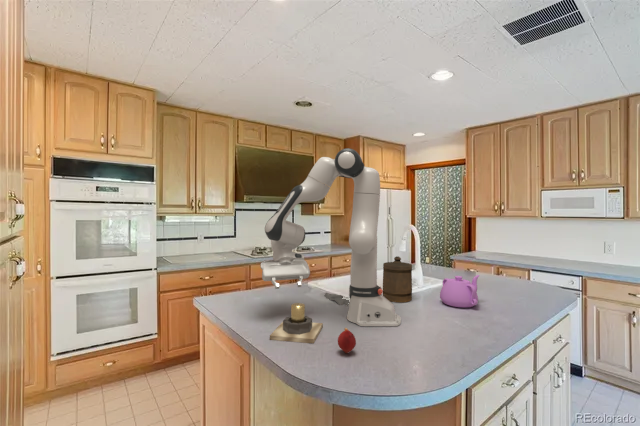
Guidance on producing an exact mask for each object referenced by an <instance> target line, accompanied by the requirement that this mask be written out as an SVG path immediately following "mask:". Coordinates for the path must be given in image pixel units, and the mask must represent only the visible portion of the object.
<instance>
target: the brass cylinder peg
mask: <svg viewBox="0 0 640 426" xmlns="http://www.w3.org/2000/svg"><path fill="white" fill-rule="evenodd" d="M290 307H291V309H290V311H291V313H290V314H291V315H290V316H291V323H302V322H305V316H306V314H305V313H306V310H305V307H306V304H305V303H303V302H302V303H300V302H295V303H291V306H290Z"/></svg>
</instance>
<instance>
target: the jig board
mask: <svg viewBox="0 0 640 426" xmlns="http://www.w3.org/2000/svg"><path fill="white" fill-rule="evenodd" d="M323 328H324V322H313V319H312V318H311V317H309V316H307V315H305V322H302V323H291V315H290V316H286V317H285V318H284V319H283V320H282V322H281V323H280V324H279V325H278V326H277V327H276V328H275V329H274V330H273V332H271V333H270V335H269V341H270V340H271V341H280V342H282V341H283V342H291V343H292V342H294V343H303V344H315V342H316V340H317V339H318V337H319V335H320V334H321V332H322V329H323Z"/></svg>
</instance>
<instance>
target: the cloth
mask: <svg viewBox="0 0 640 426" xmlns="http://www.w3.org/2000/svg"><path fill="white" fill-rule="evenodd" d="M323 296H324V297H325V299H327V298H328V299H329V300H328V299H327V300H328V301H334V302H336V303H337V304H338V305H339V306H343V305H344V306H346V305H347V306H346V307H349V304H350V302H349V300H346V299H342V298H343V296H344V295H341V294H335V293H328V292H325V293H324V295H323ZM348 303H349V304H348Z"/></svg>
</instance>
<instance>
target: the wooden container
mask: <svg viewBox="0 0 640 426" xmlns="http://www.w3.org/2000/svg"><path fill="white" fill-rule="evenodd" d="M393 259H394V260H393V261H387V262H383V265H382V267H383V269H382V291H383V292H382V296H384V297H385V298H386V299H387V300H389V301H390V302H391V303H401V304H402V303H410V302H411V301H412V299H413V277H412V276H413V273H412V270H413V264H411V263H409V262H402V261H401V260H402V258H401V257H400V256H394V258H393Z"/></svg>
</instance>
